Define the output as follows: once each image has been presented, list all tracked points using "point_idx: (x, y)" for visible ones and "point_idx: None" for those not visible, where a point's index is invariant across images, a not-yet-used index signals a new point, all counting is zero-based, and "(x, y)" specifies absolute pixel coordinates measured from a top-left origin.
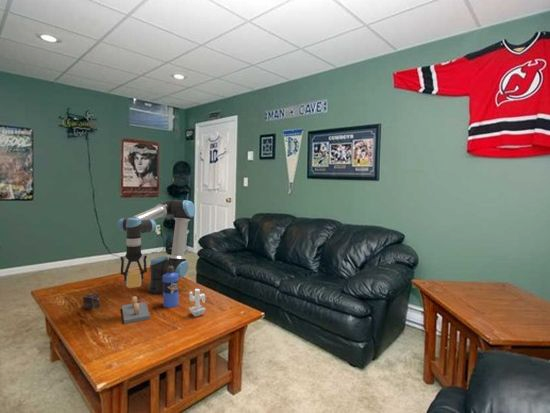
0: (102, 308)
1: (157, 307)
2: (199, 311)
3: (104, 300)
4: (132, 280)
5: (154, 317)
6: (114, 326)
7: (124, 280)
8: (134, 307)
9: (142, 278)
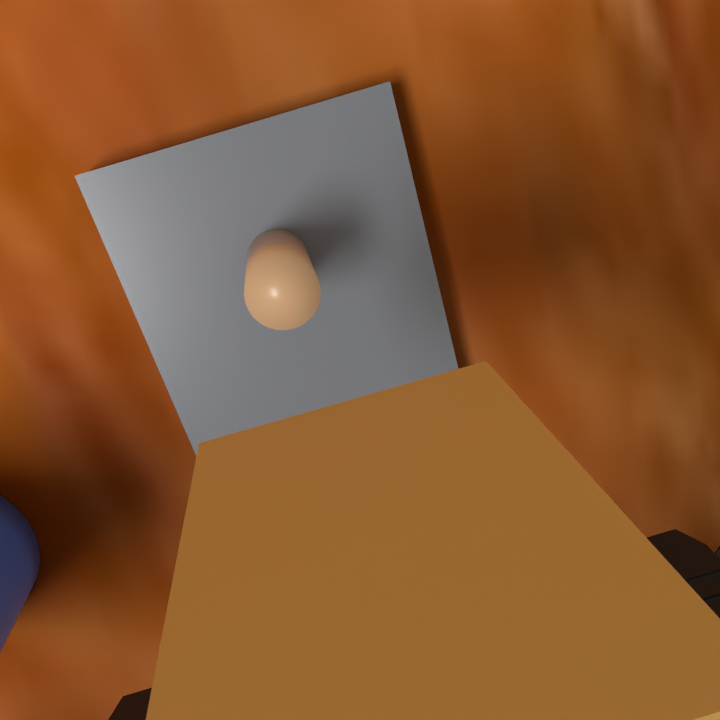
0: (663, 523)
1: (94, 498)
2: None
3: None
4: (432, 502)
5: (41, 213)
6: (480, 34)
7: (691, 538)
8: (299, 251)
9: (133, 712)
